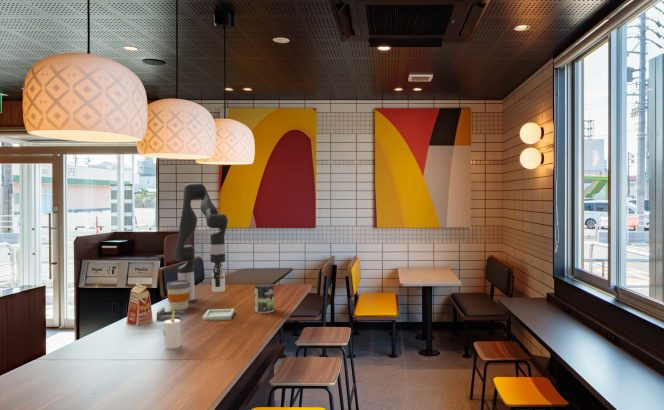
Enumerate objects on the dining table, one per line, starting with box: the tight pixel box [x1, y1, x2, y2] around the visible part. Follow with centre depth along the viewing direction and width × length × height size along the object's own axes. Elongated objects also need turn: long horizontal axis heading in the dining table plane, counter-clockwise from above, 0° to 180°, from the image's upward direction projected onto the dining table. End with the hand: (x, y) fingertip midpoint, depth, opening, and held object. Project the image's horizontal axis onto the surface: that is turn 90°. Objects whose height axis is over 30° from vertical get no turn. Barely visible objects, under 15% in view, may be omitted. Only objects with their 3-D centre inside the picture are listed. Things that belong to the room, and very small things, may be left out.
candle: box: [163, 310, 182, 350], centre depth 178 cm, size 6×6×15 cm
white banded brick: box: [211, 272, 226, 293], centre depth 222 cm, size 4×6×9 cm
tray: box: [202, 308, 235, 322], centre depth 222 cm, size 14×14×2 cm
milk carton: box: [125, 282, 153, 327], centre depth 212 cm, size 9×9×20 cm
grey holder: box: [155, 307, 188, 322], centre depth 220 cm, size 11×13×5 cm
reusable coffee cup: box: [166, 279, 190, 311], centre depth 239 cm, size 13×13×15 cm
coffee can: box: [254, 282, 275, 314], centre depth 232 cm, size 10×10×14 cm
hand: (218, 285), depth 222 cm, fingers closed on white banded brick, 4 cm apart
